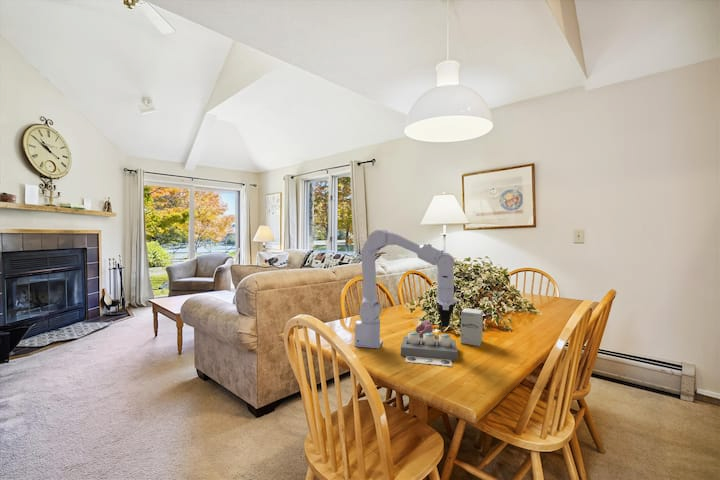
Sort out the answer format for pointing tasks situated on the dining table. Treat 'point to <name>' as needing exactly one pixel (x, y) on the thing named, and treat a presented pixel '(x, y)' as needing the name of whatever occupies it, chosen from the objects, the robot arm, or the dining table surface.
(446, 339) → the button right
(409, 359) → the card
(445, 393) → the dining table surface
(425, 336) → the button middle
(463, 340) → the supplement box
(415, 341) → the button left
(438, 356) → the button board
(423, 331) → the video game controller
